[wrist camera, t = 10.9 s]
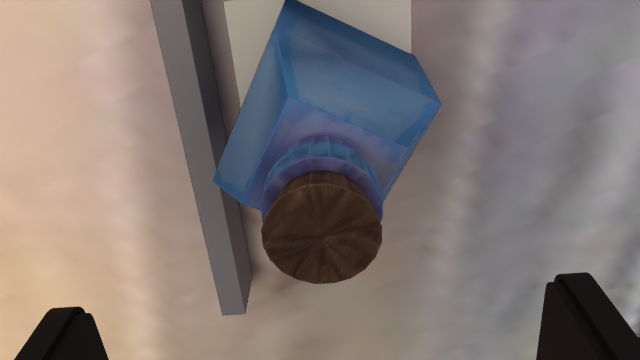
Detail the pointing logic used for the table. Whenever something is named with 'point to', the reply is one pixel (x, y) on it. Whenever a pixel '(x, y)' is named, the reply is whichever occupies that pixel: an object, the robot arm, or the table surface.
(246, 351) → the table surface
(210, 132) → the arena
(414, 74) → the perfume bottle
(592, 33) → the table surface
